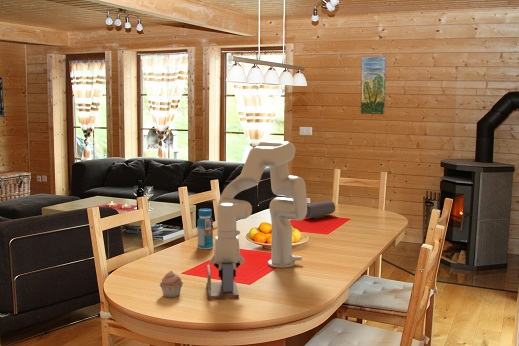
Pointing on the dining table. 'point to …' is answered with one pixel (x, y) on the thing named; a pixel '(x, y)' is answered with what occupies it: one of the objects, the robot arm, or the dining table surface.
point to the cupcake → (171, 285)
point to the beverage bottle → (205, 229)
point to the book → (227, 277)
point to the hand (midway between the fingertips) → (227, 278)
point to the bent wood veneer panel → (219, 289)
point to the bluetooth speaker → (320, 209)
